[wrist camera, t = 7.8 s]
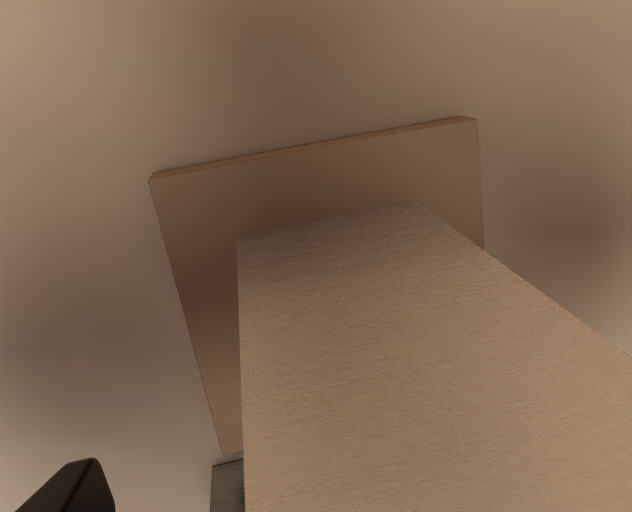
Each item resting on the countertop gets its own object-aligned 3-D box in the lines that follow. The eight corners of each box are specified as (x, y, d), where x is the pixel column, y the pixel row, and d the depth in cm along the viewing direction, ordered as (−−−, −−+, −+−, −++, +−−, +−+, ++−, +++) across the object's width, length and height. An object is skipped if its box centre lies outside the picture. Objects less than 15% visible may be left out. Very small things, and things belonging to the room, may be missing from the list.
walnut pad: (478, 376, 15) (491, 393, 14) (223, 435, 14) (222, 455, 13) (461, 116, 12) (476, 119, 12) (153, 172, 12) (148, 180, 11)
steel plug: (431, 356, 13) (771, 845, 5) (272, 392, 13) (347, 982, 5) (415, 200, 12) (849, 516, 4) (236, 237, 12) (250, 680, 3)
